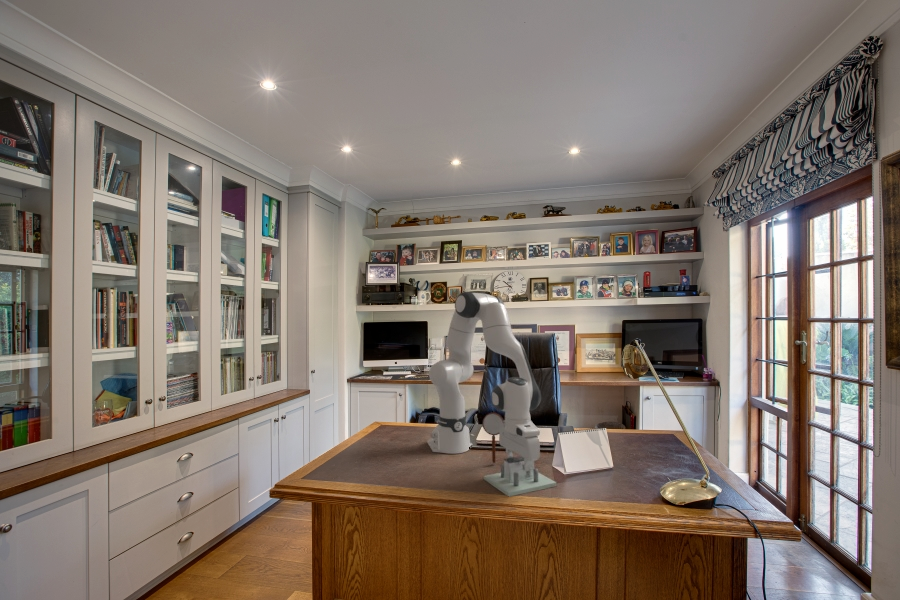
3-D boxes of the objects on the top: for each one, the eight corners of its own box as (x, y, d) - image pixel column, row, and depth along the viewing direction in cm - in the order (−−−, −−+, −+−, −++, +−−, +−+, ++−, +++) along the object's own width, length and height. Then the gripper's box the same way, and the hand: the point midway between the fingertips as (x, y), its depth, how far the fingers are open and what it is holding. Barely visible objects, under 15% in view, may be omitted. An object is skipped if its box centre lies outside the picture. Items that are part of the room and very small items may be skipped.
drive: (504, 479, 144) (503, 459, 144) (528, 474, 148) (528, 454, 149) (509, 483, 141) (509, 462, 141) (534, 478, 145) (534, 457, 145)
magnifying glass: (482, 464, 163) (481, 412, 163) (483, 463, 164) (482, 411, 165) (504, 466, 160) (503, 413, 161) (505, 465, 162) (504, 412, 163)
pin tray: (484, 479, 148) (483, 464, 148) (528, 470, 156) (528, 456, 156) (508, 496, 133) (508, 480, 134) (556, 486, 141) (556, 470, 141)
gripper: (494, 419, 154) (495, 457, 153) (526, 433, 135) (527, 477, 134) (509, 417, 156) (509, 455, 156) (542, 431, 137) (543, 474, 137)
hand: (518, 465), depth 145 cm, fingers open, 8 cm apart
